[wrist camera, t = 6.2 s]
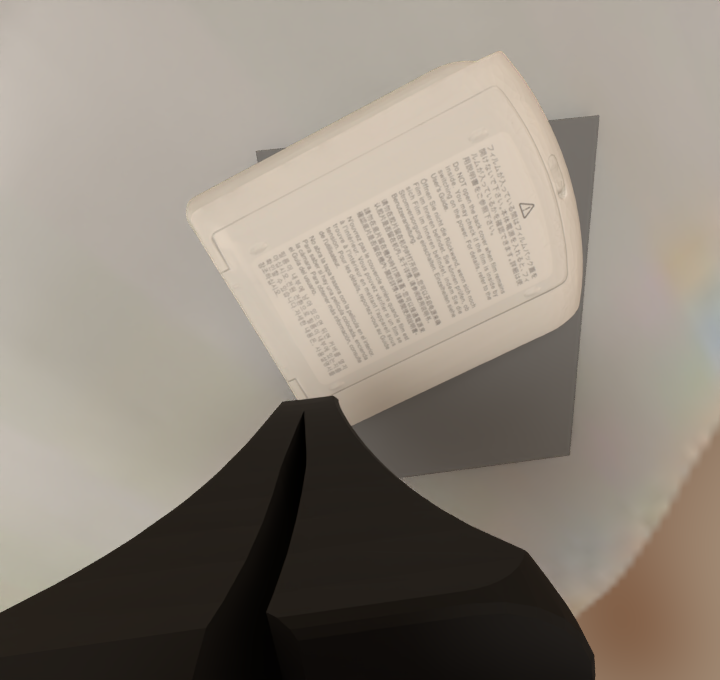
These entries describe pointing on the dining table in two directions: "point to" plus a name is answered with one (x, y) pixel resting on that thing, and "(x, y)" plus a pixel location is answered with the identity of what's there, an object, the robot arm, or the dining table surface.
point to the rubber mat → (497, 376)
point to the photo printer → (403, 238)
